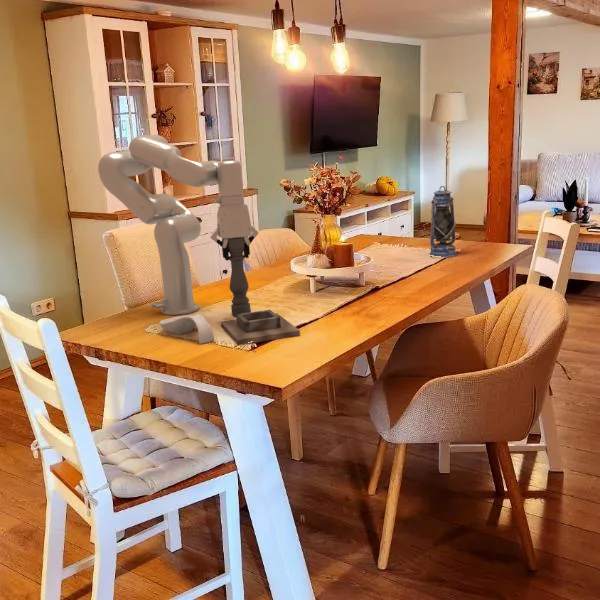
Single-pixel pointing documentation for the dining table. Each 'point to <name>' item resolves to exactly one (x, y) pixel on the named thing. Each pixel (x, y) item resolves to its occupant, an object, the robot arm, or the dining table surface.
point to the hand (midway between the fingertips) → (236, 258)
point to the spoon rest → (189, 326)
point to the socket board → (259, 327)
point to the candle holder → (238, 277)
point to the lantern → (442, 225)
